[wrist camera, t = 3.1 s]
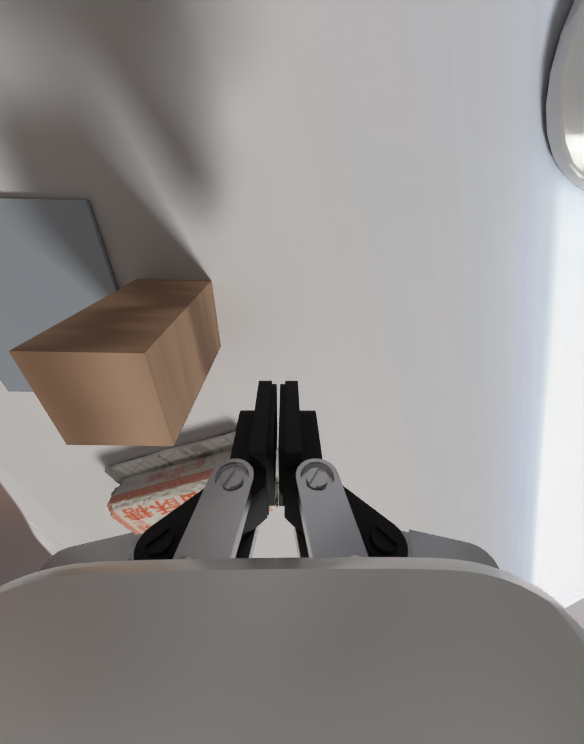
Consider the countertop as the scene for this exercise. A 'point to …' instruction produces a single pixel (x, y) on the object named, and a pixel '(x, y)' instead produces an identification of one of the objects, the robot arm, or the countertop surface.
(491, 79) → the countertop surface
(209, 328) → the walnut block
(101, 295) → the rubber mat
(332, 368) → the countertop surface
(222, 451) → the packaged product
